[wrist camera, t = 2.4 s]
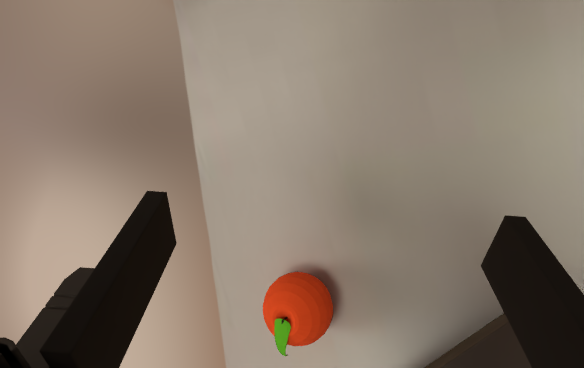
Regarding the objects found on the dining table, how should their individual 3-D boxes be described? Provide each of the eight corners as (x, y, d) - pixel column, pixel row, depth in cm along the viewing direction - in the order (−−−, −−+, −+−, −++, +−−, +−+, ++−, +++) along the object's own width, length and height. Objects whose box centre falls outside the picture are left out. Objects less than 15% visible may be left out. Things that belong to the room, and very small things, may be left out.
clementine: (335, 346, 38) (310, 384, 31) (277, 325, 41) (243, 356, 34) (346, 273, 37) (322, 296, 30) (285, 257, 40) (252, 275, 33)
